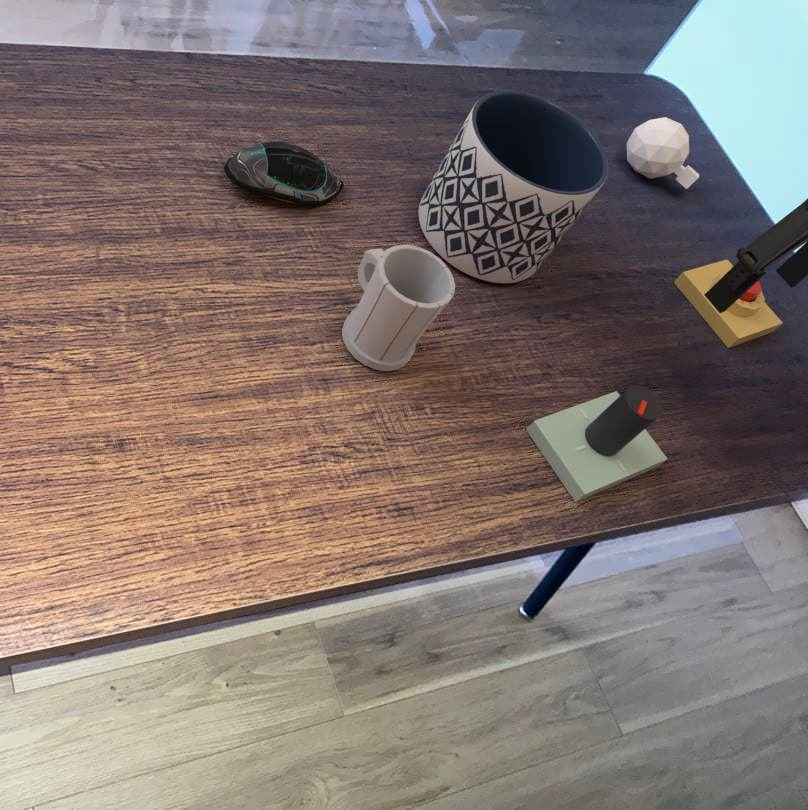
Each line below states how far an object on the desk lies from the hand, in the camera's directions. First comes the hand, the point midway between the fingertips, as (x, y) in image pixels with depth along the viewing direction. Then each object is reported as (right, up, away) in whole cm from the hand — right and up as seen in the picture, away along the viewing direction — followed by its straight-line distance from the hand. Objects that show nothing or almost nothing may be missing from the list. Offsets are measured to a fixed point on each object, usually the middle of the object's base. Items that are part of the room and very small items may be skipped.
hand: (750, 290), depth 103 cm
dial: (-16, -17, +2) cm, 24 cm away
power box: (+9, +1, +25) cm, 27 cm away
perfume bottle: (+4, +23, +38) cm, 44 cm away
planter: (-27, +10, +19) cm, 34 cm away
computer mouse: (-53, +15, +13) cm, 57 cm away
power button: (+10, +3, +22) cm, 24 cm away
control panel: (-17, -18, +3) cm, 25 cm away
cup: (-43, -5, +3) cm, 43 cm away
